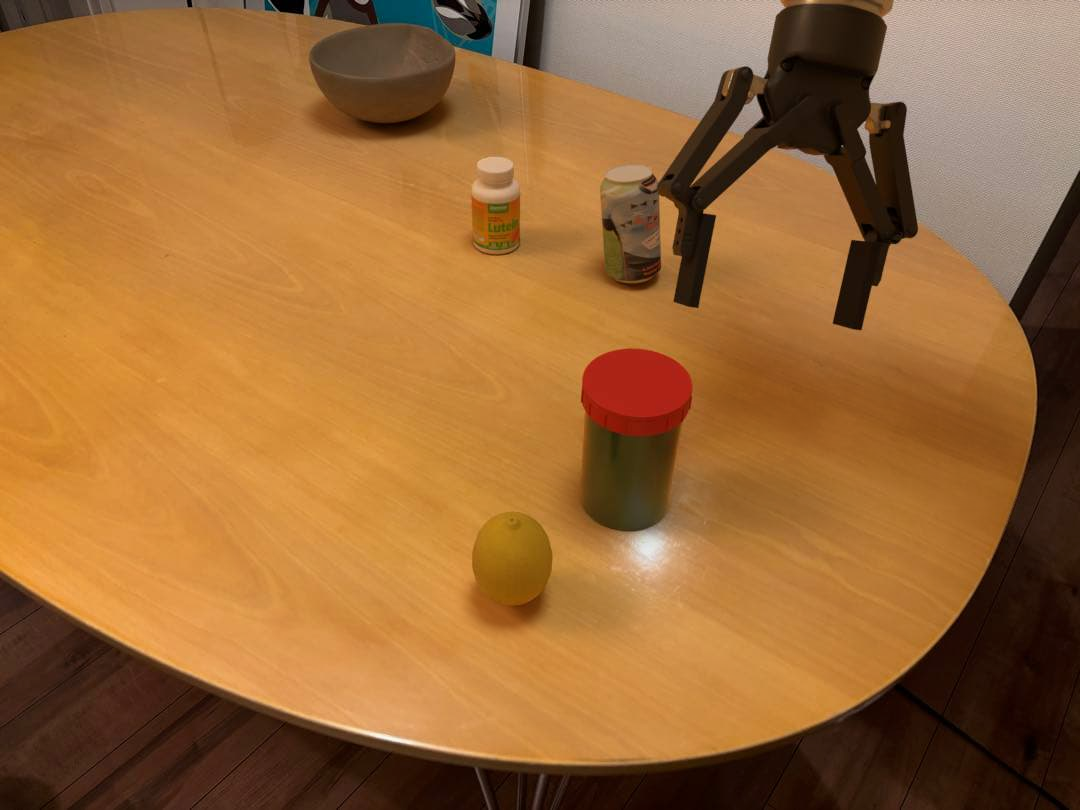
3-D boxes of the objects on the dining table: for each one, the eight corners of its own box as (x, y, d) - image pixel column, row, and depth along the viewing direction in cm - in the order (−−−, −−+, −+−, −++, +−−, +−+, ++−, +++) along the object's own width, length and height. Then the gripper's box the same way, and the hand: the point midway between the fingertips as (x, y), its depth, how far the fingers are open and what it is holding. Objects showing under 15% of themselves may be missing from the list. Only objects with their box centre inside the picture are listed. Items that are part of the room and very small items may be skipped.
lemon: (565, 587, 64) (569, 511, 59) (522, 641, 61) (523, 565, 55) (503, 554, 66) (501, 478, 61) (458, 604, 63) (452, 528, 58)
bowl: (289, 118, 128) (277, 47, 122) (393, 80, 140) (387, 13, 134) (383, 157, 118) (375, 83, 112) (487, 113, 130) (485, 43, 124)
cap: (692, 440, 61) (695, 420, 60) (578, 432, 62) (579, 413, 60) (687, 370, 67) (690, 351, 66) (583, 364, 68) (584, 345, 67)
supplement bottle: (486, 260, 99) (484, 179, 92) (464, 239, 102) (461, 159, 96) (528, 248, 101) (529, 168, 95) (505, 227, 104) (504, 149, 98)
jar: (670, 534, 68) (689, 422, 61) (577, 527, 68) (584, 415, 61) (668, 469, 74) (684, 359, 66) (581, 463, 74) (588, 353, 67)
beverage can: (644, 297, 93) (655, 193, 86) (583, 277, 96) (589, 174, 89) (669, 270, 98) (682, 169, 90) (610, 252, 100) (618, 152, 93)
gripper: (943, 57, 68) (878, 327, 73) (646, -17, 61) (595, 288, 66) (1017, 44, 61) (941, 344, 66) (692, -42, 54) (631, 302, 58)
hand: (768, 317), depth 66 cm, fingers open, 13 cm apart
